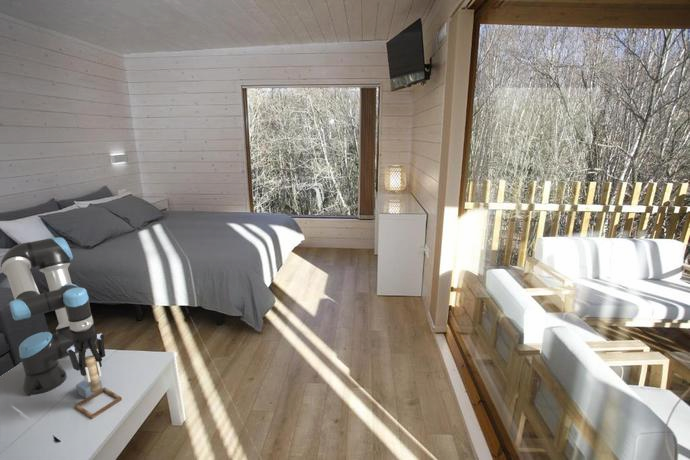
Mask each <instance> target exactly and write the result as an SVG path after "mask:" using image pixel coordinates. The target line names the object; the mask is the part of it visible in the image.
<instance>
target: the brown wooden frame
mask: <svg viewBox="0 0 690 460" xmlns="http://www.w3.org/2000/svg"><path fill="white" fill-rule="evenodd" d="M103 393H105V394H107V395H108V396H111V398H112V397H113V398H114V400H112V401H111V402H109V403H107V404H106V405H105V406H102V407H101V408H99V409H98V410H97V411H95V412H93V413H91V412H90V411H88V410H87V409H86V408H84V407H82V406H84V405H85V404H87V403H88V402H89V403H90V401H91V400H94V398H96V397H99V396H100V395H102V394H103ZM121 401H123V400H122V397H121V396H120V395H118V394H116V393H115V392H113V391H111V390H110V389H108V388H107V387H103V389H101V390H99V391H98V392H96V393H94V394H93V395H91V396H89V397H88V398H84V399H83V400H81V401H79V402H78V403H76V404H75V405H74V408H75V409H76V410H77V411H79V412H81V413H82V414H84V416H87V417H88V418H89V419H91V420H93V419H95V418H96V417H99V415H101V414H103V413H104V412H106V411H108V410H109V409H110V408H112V407H113V406H114V405H117V404H119V403H120V402H121Z"/></svg>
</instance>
